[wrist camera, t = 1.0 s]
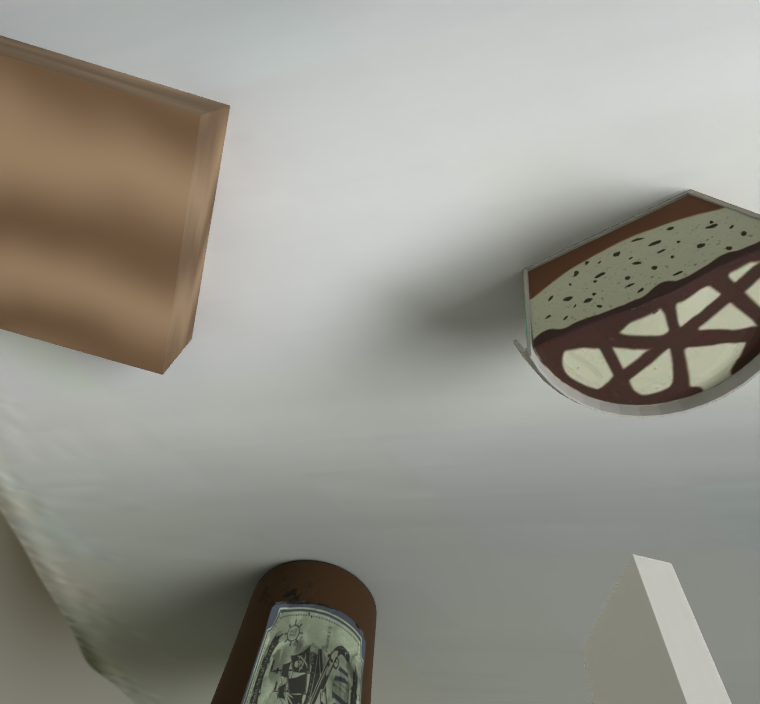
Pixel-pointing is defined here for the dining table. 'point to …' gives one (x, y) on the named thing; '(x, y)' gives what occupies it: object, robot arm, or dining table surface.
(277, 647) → the brown bottle
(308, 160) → the dining table surface
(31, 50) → the walnut block
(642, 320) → the food container
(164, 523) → the dining table surface
